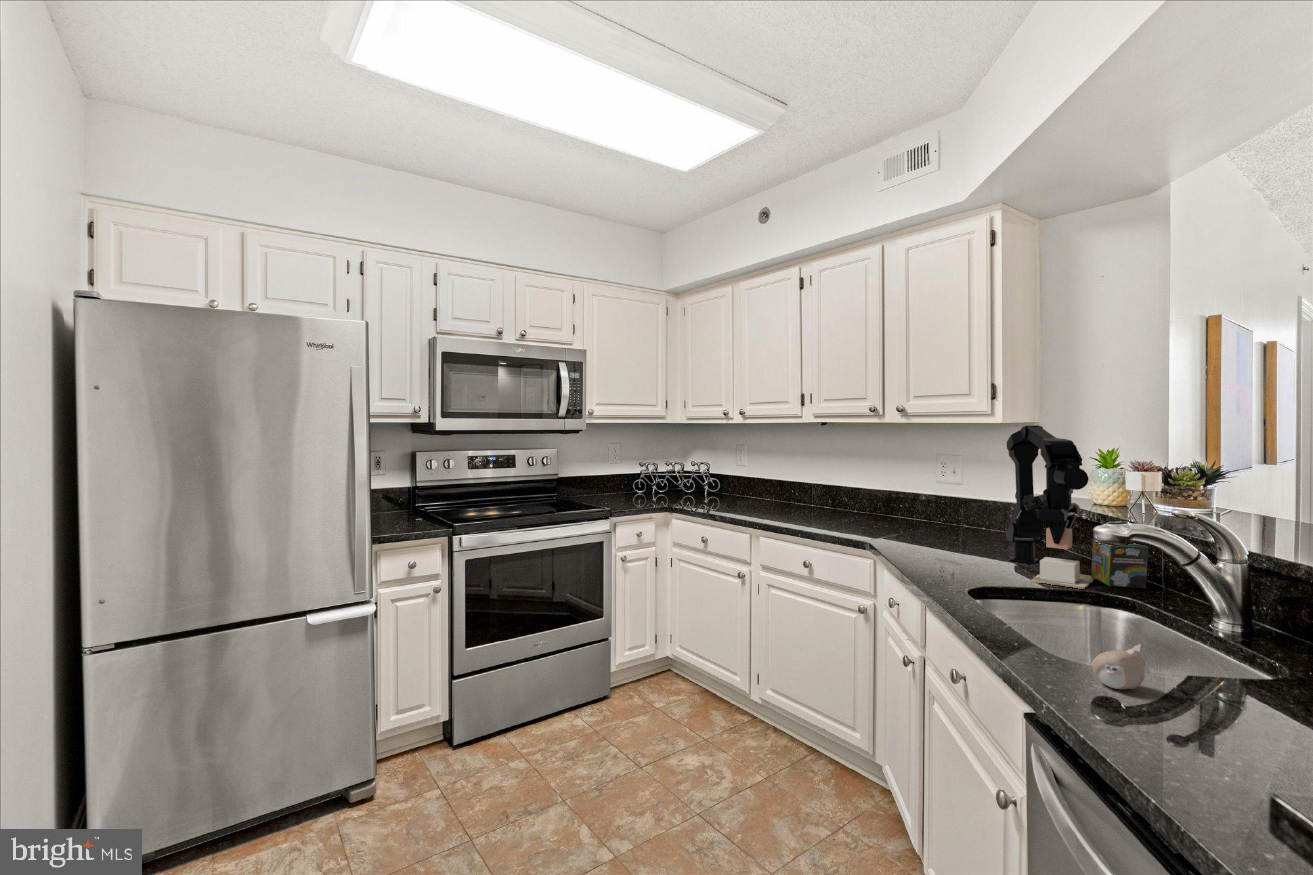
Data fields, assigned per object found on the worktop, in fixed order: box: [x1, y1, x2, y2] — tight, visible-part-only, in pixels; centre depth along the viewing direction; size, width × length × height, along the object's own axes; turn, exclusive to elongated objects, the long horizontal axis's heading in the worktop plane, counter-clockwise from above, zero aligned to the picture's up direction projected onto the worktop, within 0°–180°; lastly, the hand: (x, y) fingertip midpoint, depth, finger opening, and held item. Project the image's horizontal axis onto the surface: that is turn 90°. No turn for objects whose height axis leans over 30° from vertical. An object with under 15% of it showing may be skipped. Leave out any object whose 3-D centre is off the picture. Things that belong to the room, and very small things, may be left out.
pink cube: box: [1045, 527, 1073, 550], centre depth 164 cm, size 5×5×5 cm
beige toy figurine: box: [1091, 643, 1146, 690], centre depth 99 cm, size 7×6×8 cm
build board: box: [1030, 573, 1096, 590], centre depth 165 cm, size 16×12×1 cm
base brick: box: [1039, 556, 1081, 584], centre depth 164 cm, size 8×6×5 cm
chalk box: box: [1090, 537, 1149, 589], centre depth 160 cm, size 9×9×15 cm
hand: (1059, 542), depth 164 cm, fingers closed on pink cube, 5 cm apart
